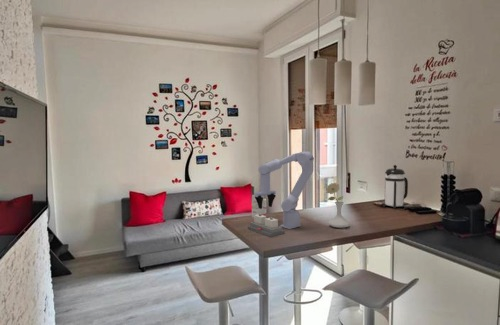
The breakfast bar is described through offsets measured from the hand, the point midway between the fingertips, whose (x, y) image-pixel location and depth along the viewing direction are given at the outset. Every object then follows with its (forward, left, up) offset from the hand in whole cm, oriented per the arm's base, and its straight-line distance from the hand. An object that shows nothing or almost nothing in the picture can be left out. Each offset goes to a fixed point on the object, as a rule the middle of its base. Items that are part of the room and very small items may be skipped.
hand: (265, 207), depth 190 cm
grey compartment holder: (+10, +12, -9) cm, 18 cm away
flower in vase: (-27, +31, -10) cm, 42 cm away
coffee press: (-99, +26, -10) cm, 103 cm away
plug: (+10, +7, -8) cm, 15 cm away
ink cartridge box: (-6, -13, -10) cm, 17 cm away
